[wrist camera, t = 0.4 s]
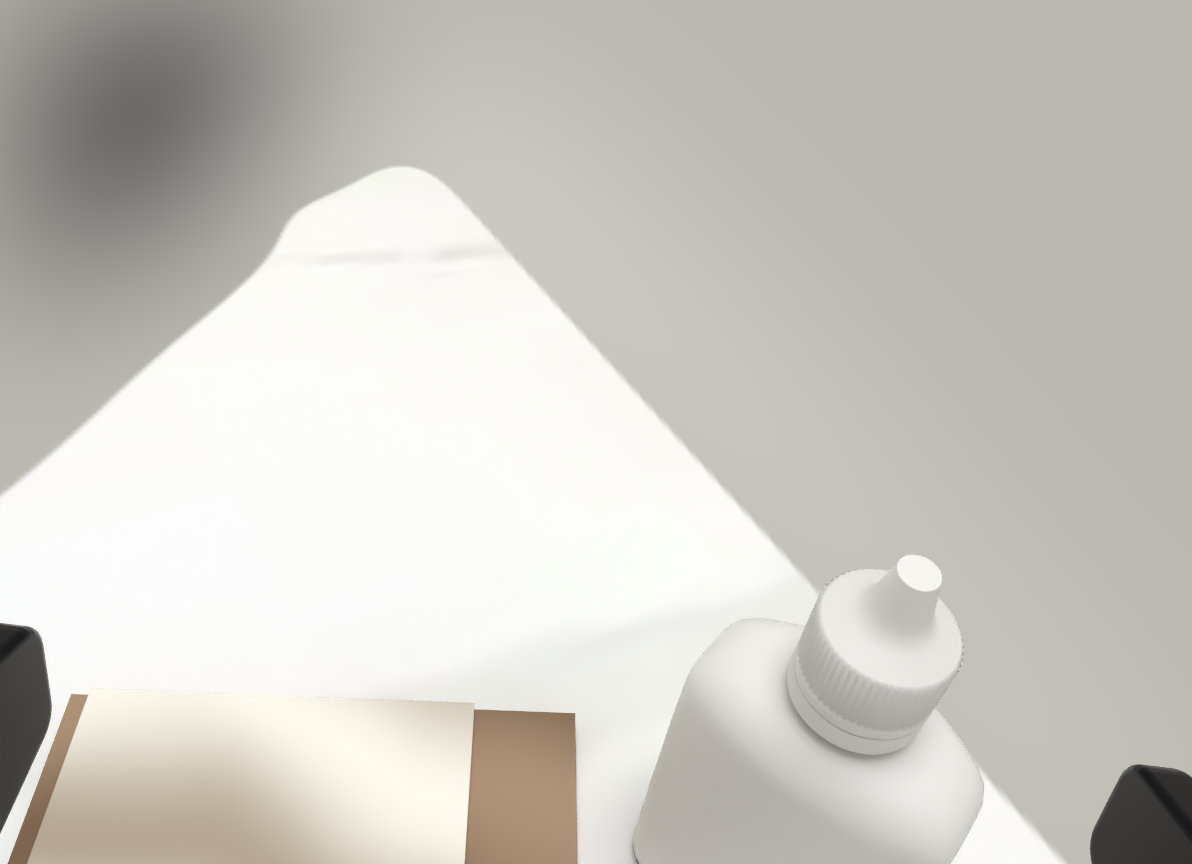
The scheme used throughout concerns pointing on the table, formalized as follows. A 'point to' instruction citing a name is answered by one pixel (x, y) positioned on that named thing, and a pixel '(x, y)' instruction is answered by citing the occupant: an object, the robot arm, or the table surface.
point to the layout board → (301, 782)
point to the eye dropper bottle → (820, 736)
